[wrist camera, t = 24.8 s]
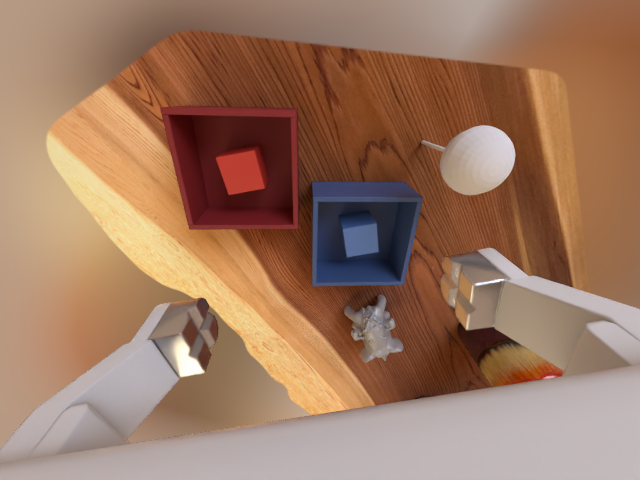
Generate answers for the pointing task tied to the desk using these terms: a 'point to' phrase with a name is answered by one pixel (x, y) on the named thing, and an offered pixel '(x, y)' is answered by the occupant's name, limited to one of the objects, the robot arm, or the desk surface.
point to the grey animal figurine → (374, 330)
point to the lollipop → (476, 160)
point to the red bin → (204, 174)
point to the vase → (505, 358)
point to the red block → (243, 169)
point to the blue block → (359, 233)
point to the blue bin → (392, 230)
